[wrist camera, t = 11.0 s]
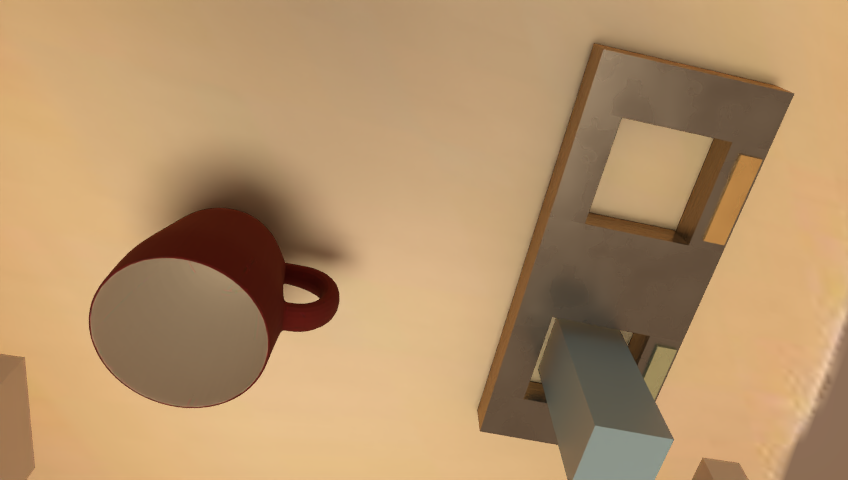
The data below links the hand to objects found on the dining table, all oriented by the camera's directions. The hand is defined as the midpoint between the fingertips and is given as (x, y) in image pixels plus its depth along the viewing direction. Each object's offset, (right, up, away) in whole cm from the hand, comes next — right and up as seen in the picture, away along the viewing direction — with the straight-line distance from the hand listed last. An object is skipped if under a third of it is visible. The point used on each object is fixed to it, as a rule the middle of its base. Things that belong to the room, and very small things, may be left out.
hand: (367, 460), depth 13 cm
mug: (-9, +4, +26) cm, 28 cm away
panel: (+12, +3, +26) cm, 29 cm away
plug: (+11, -3, +29) cm, 31 cm away
